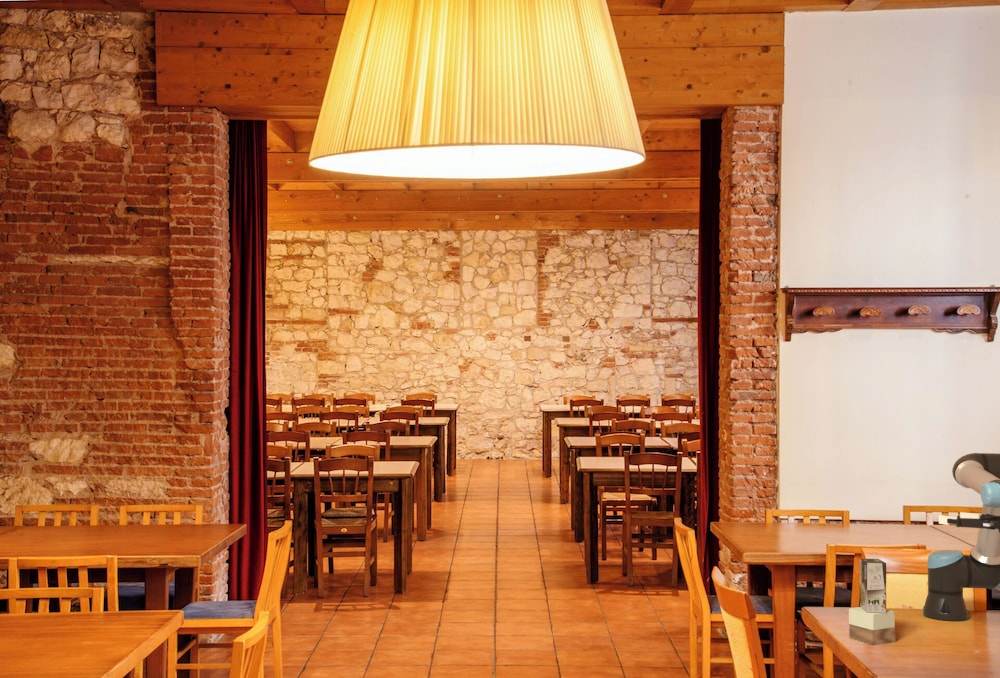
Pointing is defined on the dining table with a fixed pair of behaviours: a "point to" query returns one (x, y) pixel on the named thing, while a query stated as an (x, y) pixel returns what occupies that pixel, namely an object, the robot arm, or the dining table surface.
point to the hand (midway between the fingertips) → (950, 517)
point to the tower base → (872, 635)
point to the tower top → (871, 619)
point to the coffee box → (873, 585)
